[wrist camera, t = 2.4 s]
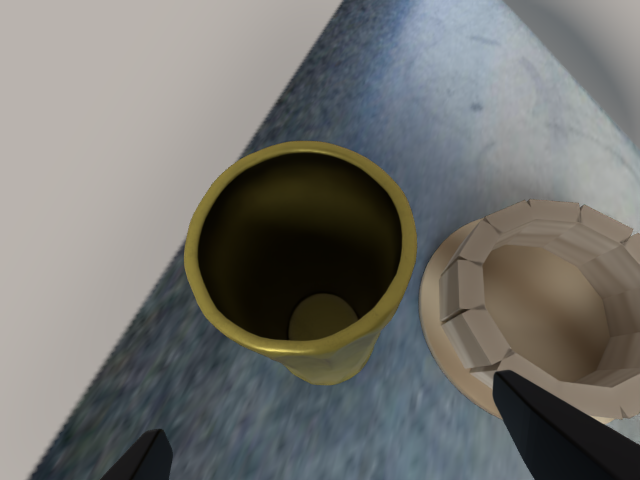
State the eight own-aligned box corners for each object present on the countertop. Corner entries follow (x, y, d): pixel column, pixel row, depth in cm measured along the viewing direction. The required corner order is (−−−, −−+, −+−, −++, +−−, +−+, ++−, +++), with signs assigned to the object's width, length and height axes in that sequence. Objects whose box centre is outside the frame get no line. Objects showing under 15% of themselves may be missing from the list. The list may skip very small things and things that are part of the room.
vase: (268, 381, 19) (126, 370, 6) (280, 279, 22) (195, 122, 9) (374, 389, 19) (452, 395, 6) (375, 284, 21) (431, 126, 8)
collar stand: (589, 488, 17) (671, 521, 13) (379, 334, 20) (389, 321, 16) (665, 292, 20) (748, 268, 16) (476, 190, 24) (504, 149, 20)
